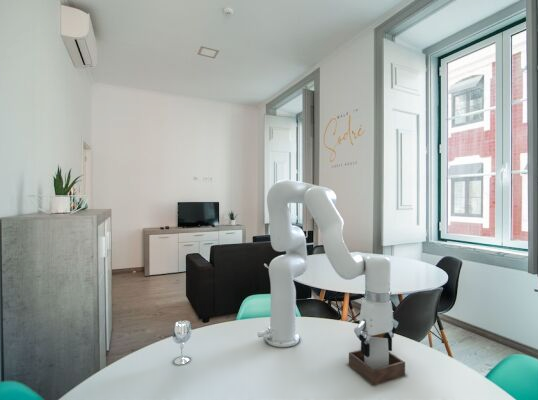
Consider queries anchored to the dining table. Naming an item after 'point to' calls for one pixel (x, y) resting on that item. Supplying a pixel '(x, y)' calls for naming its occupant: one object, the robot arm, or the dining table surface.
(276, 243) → the robot arm
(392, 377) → the crate
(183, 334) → the wineglass
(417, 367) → the dining table surface
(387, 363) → the white food carton
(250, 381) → the dining table surface
